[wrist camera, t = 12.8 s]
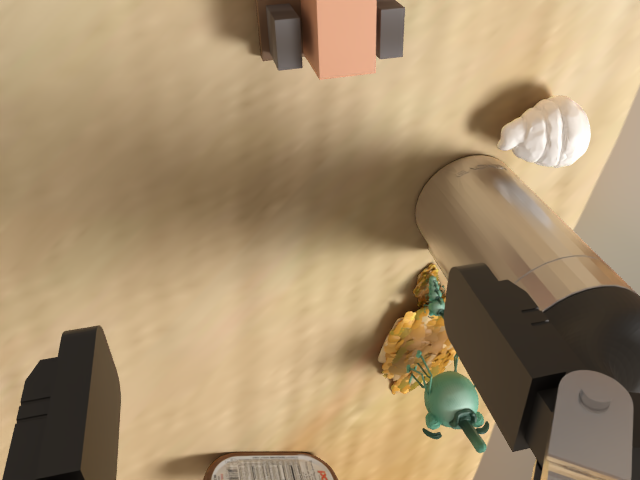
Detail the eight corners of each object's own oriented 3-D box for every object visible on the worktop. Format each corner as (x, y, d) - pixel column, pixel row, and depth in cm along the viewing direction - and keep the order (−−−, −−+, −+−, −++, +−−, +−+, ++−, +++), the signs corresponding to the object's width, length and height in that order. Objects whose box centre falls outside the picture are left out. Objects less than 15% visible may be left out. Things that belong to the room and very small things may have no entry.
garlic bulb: (489, 94, 46) (523, 122, 41) (560, 83, 47) (601, 110, 42) (482, 157, 49) (513, 189, 45) (548, 145, 50) (585, 177, 46)
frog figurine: (498, 262, 57) (580, 392, 46) (431, 377, 67) (484, 504, 57) (408, 258, 54) (473, 396, 43) (353, 379, 64) (393, 514, 54)
